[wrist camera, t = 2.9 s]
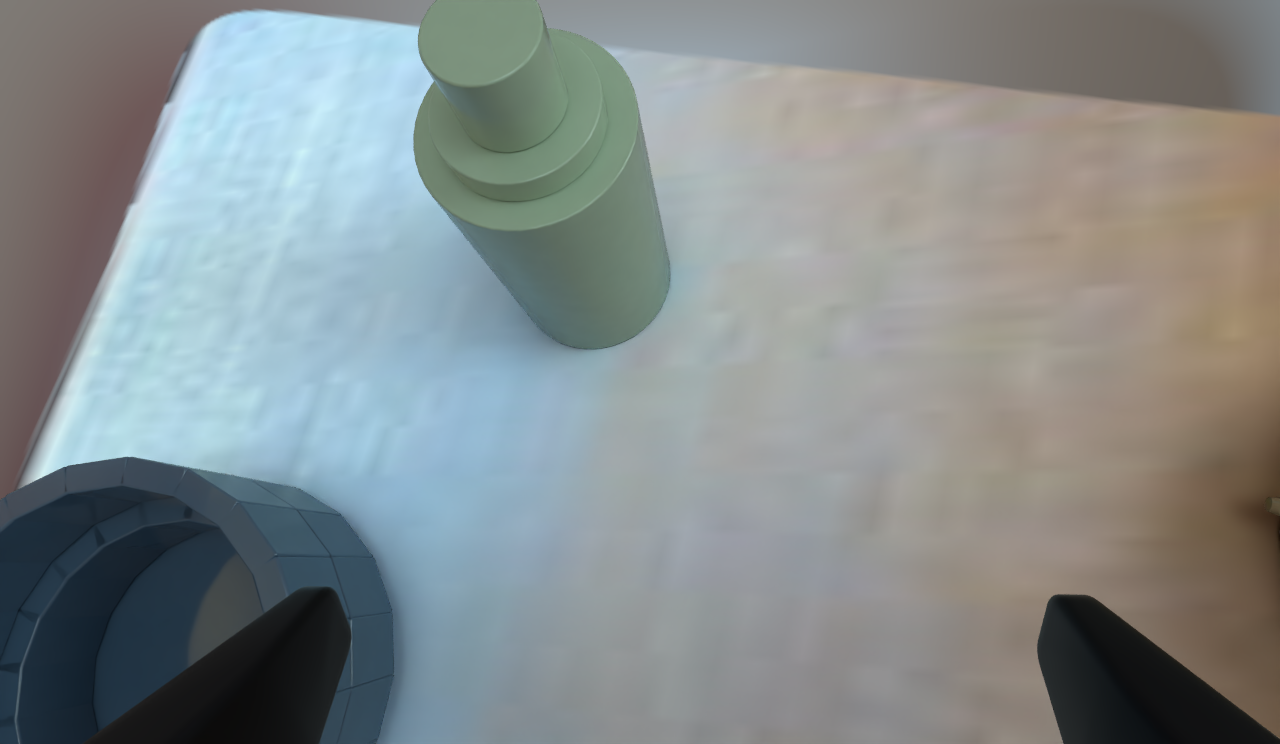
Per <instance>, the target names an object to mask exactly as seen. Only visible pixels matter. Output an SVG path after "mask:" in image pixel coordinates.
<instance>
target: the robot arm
mask: <svg viewBox="0 0 1280 744" xmlns="http://www.w3.org/2000/svg"><path fill="white" fill-rule="evenodd" d="M351 641H352V634H351V628H350V625H349V622H348V620H347V617H346V614H345V612H344V609H343V606H342V604H341V601H340V598H339V596H338V594H337V592H336V591H335V590H334V589H333V588H332V587H329V586H305V587H302V588H299V589H298V590H296V591H295V592H293V593H292V594H290V595H289V596H288V597H286V598H285V599H283V600H282V601H281V602H279V603H278V604H276V605H275V606H274V607H272V608H271V609H269V610H268V611H267V612H265V613H264V614H262V615H261V616H260V617H258V618H257V619H255V620H254V621H253V622H251V623H250V624H248V625H247V626H246V627H244V628H243V629H241V630H240V631H239V632H237V633H236V634H235V635H233V636H232V637H230V638H229V639H228V640H226V641H225V642H223V643H222V644H221V645H219V646H218V647H216V648H215V649H214V650H212V651H211V652H209V653H208V654H207V655H205V656H204V657H202V658H201V659H200V660H198V661H197V662H195V663H194V664H193V665H191V666H190V667H188V668H187V669H186V670H184V671H183V672H181V673H180V674H179V675H177V676H176V677H174V678H173V679H172V680H170V681H169V682H167V683H166V684H165V685H163V686H162V687H161V688H159V689H158V690H156V691H155V692H154V693H152V694H151V695H149V696H148V697H147V698H145V699H144V700H142V701H141V702H140V703H138V704H137V705H135V706H134V707H133V708H131V709H130V710H128V711H127V712H126V713H124V714H123V715H121V716H120V717H119V718H117V719H116V720H114V721H113V722H112V723H110V724H109V725H107V726H106V727H105V728H103V729H102V730H100V731H99V732H98V733H96V734H95V735H93V736H92V737H91V738H89V739H88V740H86V741H85V742H84V743H82V744H319V743H320V740H321V737H322V734H323V731H324V728H325V724H326V721H327V718H328V715H329V712H330V709H331V706H332V703H333V700H334V697H335V694H336V691H337V687H338V684H339V681H340V678H341V675H342V672H343V669H344V666H345V663H346V660H347V657H348V654H349V650H350V647H351ZM1037 652H1038V659H1039V664H1040V667H1041V671H1042V674H1043V677H1044V680H1045V684H1046V687H1047V690H1048V694H1049V697H1050V700H1051V704H1052V707H1053V710H1054V714H1055V717H1056V720H1057V724H1058V727H1059V730H1060V734H1061V737H1062V740H1063V743H1064V744H1280V739H1279V738H1278V737H1276V736H1275V735H1274V734H1273V733H1271V732H1270V731H1269V730H1267V729H1266V728H1265V727H1263V726H1262V725H1261V724H1259V723H1258V722H1257V721H1255V720H1254V719H1253V718H1251V717H1250V716H1249V715H1248V714H1246V713H1245V712H1244V711H1242V710H1241V709H1240V708H1238V707H1237V706H1236V705H1234V704H1233V703H1232V702H1230V701H1229V700H1228V699H1227V698H1225V697H1224V696H1223V695H1221V694H1220V693H1219V692H1217V691H1216V690H1215V689H1213V688H1212V687H1211V686H1209V685H1208V684H1207V683H1205V682H1204V681H1203V680H1202V679H1200V678H1199V677H1198V676H1196V675H1195V674H1194V673H1192V672H1191V671H1190V670H1188V669H1187V668H1186V667H1184V666H1183V665H1182V664H1180V663H1179V662H1178V661H1177V660H1175V659H1174V658H1173V657H1171V656H1170V655H1169V654H1167V653H1166V652H1165V651H1163V650H1162V649H1161V648H1159V647H1158V646H1157V645H1156V644H1154V643H1153V642H1152V641H1150V640H1149V639H1148V638H1146V637H1145V636H1144V635H1142V634H1141V633H1140V632H1138V631H1137V630H1136V629H1134V628H1133V627H1132V626H1131V625H1129V624H1128V623H1127V622H1125V621H1124V620H1123V619H1121V618H1120V617H1119V616H1117V615H1116V614H1115V613H1113V612H1112V611H1111V610H1110V609H1108V608H1107V607H1106V606H1104V605H1103V604H1102V603H1100V602H1099V601H1098V600H1096V599H1095V598H1093V597H1091V596H1088V595H1062V594H1058V595H1054V596H1052V597H1051V598H1050V600H1049V602H1048V604H1047V608H1046V612H1045V615H1044V619H1043V623H1042V627H1041V631H1040V635H1039V639H1038V644H1037Z"/></svg>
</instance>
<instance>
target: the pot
mask: <svg viewBox="0 0 1280 744" xmlns="http://www.w3.org/2000/svg"><path fill="white" fill-rule="evenodd" d="M305 586H329V587H332V588H333V589H334V590H335V591H336V592H337V594H338V596H339V598H340V601H341V604H342V606H343V609H344V612H345V614H346V617H347V620H348V622H349V625H350V628H351V634H352V641H351V647H350V650H349V654H348V657H347V660H346V663H345V666H344V669H343V672H342V675H341V678H340V681H339V684H338V687H337V691H336V694H335V697H334V700H333V703H332V706H331V709H330V712H329V715H328V718H327V721H326V724H325V728H324V731H323V734H322V737H321V740H320V743H319V744H375V743H376V742H377V738H378V736H379V732H380V728H381V724H382V721H383V717H384V713H385V709H386V705H387V701H388V697H389V693H390V689H391V685H392V681H393V677H394V675H393V673H394V658H393V622H392V613H391V612H392V609H391V606H390V603H389V600H388V597H387V594H386V591H385V588H384V585H383V583H382V580H381V577H380V574H379V571H378V568H377V565H376V562H375V559H374V558H373V556H372V554H371V553H370V552H369V551H368V549H367V548H366V547H365V545H364V544H363V543H362V541H361V540H360V539H359V538H358V536H357V535H356V534H355V532H354V531H353V530H352V528H351V527H350V526H349V525H348V523H347V522H346V521H345V519H344V518H343V517H342V516H341V514H339V513H338V512H336V511H335V510H333V509H331V508H330V507H328V506H327V505H325V504H323V503H322V502H320V501H319V500H317V499H315V498H314V497H312V496H311V495H309V494H307V493H306V492H304V491H303V490H301V489H298V488H296V487H290V486H285V485H280V484H275V483H270V482H265V481H260V480H255V479H250V478H245V477H239V476H234V475H228V474H223V473H217V472H212V471H206V470H201V469H196V468H190V467H185V466H179V465H174V464H168V463H163V462H157V461H152V460H147V459H141V458H136V457H122V458H116V459H109V460H102V461H96V462H89V463H83V464H76V465H70V466H67V467H63V468H61V469H59V470H57V471H55V472H53V473H51V474H49V475H47V476H45V477H43V478H40V479H38V480H36V481H34V482H32V483H30V484H28V485H26V486H24V487H22V488H20V489H18V490H16V491H14V492H12V493H10V494H7V495H6V497H4V498H2V499H1V500H0V744H82V743H84V742H85V741H86V740H88V739H89V738H91V737H92V736H93V735H95V734H96V733H98V732H99V731H100V730H102V729H103V728H105V727H106V726H107V725H109V724H110V723H112V722H113V721H114V720H116V719H117V718H119V717H120V716H121V715H123V714H124V713H126V712H127V711H128V710H130V709H131V708H133V707H134V706H135V705H137V704H138V703H140V702H141V701H142V700H144V699H145V698H147V697H148V696H149V695H151V694H152V693H154V692H155V691H156V690H158V689H159V688H161V687H162V686H163V685H165V684H166V683H167V682H169V681H170V680H172V679H173V678H174V677H176V676H177V675H179V674H180V673H181V672H183V671H184V670H186V669H187V668H188V667H190V666H191V665H193V664H194V663H195V662H197V661H198V660H200V659H201V658H202V657H204V656H205V655H207V654H208V653H209V652H211V651H212V650H214V649H215V648H216V647H218V646H219V645H221V644H222V643H223V642H225V641H226V640H228V639H229V638H230V637H232V636H233V635H235V634H236V633H237V632H239V631H240V630H241V629H243V628H244V627H246V626H247V625H248V624H250V623H251V622H253V621H254V620H255V619H257V618H258V617H260V616H261V615H262V614H264V613H265V612H267V611H268V610H269V609H271V608H272V607H274V606H275V605H276V604H278V603H279V602H281V601H282V600H283V599H285V598H286V597H288V596H289V595H290V594H292V593H293V592H295V591H296V590H298V589H299V588H302V587H305Z"/></svg>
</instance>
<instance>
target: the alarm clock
mask: <svg viewBox="0 0 1280 744" xmlns="http://www.w3.org/2000/svg"><path fill="white" fill-rule="evenodd" d="M1265 510H1266V511H1268V512H1270V513H1273V514H1276V515H1279V516H1280V498H1275V497H1269V498H1267V499H1266V501H1265ZM1279 533H1280V532H1279Z"/></svg>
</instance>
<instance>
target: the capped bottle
mask: <svg viewBox="0 0 1280 744" xmlns="http://www.w3.org/2000/svg"><path fill="white" fill-rule="evenodd" d="M418 48H419V54H420V57H421V60H422V62H423V64H424V65H425V67H426V69H427V70H428V72H429V74H430V75H431V77H432V79H433V80H434V82H433V84H432V85H431V87H430V88H429V90H428V92H427V93H426V95H425V97H424V99H423V101H422V104H421V106H420V108H419V111H418V115H417V118H416V122H415V129H414V155H415V162H416V165H417V168H418V172H419V175H420V177H421V179H422V181H423V183H424V185H425V187H426V188H427V190H428V191H429V192H430V194H431V195H432V197H433V198H434V199H435V200H436V202H437V203H438V204H439V205H440V207H441V208H442V209H443V210H444V212H445V213H446V214H447V215H448V217H449V218H450V219H451V220H452V222H453V223H454V224H455V225H456V227H457V228H458V229H459V230H460V232H461V233H462V234H463V235H464V236H465V238H466V239H467V240H468V241H469V243H470V244H471V245H472V246H473V248H474V249H475V250H476V251H477V253H478V254H479V255H480V256H481V258H482V259H483V260H484V261H485V263H486V264H487V265H488V266H489V268H490V269H491V270H492V271H493V272H494V274H495V275H496V276H497V277H498V279H499V280H500V281H501V282H502V284H503V285H504V286H505V287H506V289H507V290H508V291H509V292H510V294H511V295H512V296H513V297H514V299H515V300H516V301H517V302H518V304H519V305H520V306H521V307H522V308H523V310H524V311H525V312H526V313H527V315H528V316H529V317H530V318H531V320H532V321H533V322H534V323H535V324H536V326H537V327H538V328H539V329H540V330H541V331H542V332H544V333H545V334H546V335H547V336H549V337H550V338H552V339H554V340H555V341H557V342H560V343H562V344H564V345H568V346H571V347H575V348H582V349H598V348H606V347H610V346H614V345H617V344H619V343H622V342H624V341H626V340H628V339H630V338H632V337H634V336H635V335H636V334H638V333H639V332H641V331H642V330H643V329H644V328H645V327H646V326H647V325H649V324H650V322H651V321H652V320H653V319H654V318H655V317H656V315H657V313H658V312H659V310H660V309H661V307H662V305H663V303H664V301H665V299H666V295H667V292H668V289H669V283H670V263H669V258H668V253H667V248H666V243H665V238H664V233H663V228H662V223H661V218H660V213H659V208H658V203H657V198H656V193H655V188H654V183H653V178H652V173H651V168H650V163H649V158H648V153H647V148H646V143H645V138H644V133H643V128H642V123H641V118H640V113H639V108H638V103H637V99H636V95H635V91H634V88H633V86H632V84H631V81H630V79H629V77H628V75H627V74H626V72H625V71H624V69H623V67H622V66H621V65H620V64H619V63H618V61H617V60H616V59H615V58H614V57H613V56H612V55H611V54H610V53H608V52H607V51H606V50H605V49H604V48H602V47H601V46H599V45H598V44H596V43H595V42H593V41H591V40H589V39H587V38H585V37H583V36H581V35H577V34H574V33H571V32H567V31H563V30H558V29H548V28H547V26H546V23H545V20H544V17H543V14H542V11H541V9H540V6H539V4H538V3H537V1H536V0H436V1H435V2H434V3H433V4H432V6H431V7H430V8H429V9H428V11H427V13H426V14H425V16H424V18H423V20H422V23H421V26H420V29H419V35H418Z"/></svg>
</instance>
